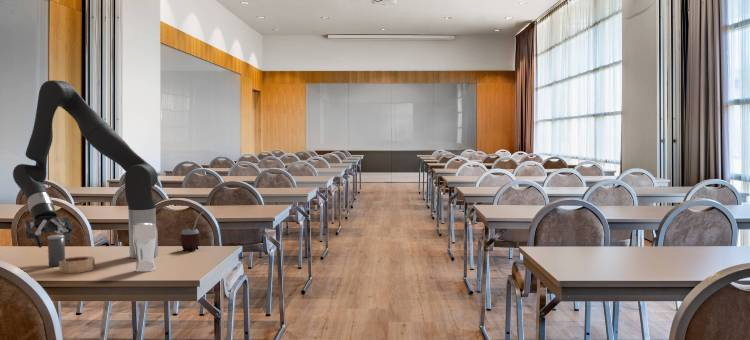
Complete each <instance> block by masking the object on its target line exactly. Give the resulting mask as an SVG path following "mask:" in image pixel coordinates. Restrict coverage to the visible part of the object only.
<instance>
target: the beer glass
mask: <svg viewBox="0 0 750 340" xmlns="http://www.w3.org/2000/svg"><path fill="white" fill-rule="evenodd" d="M133 243H134V249H135V253H136V258H135V259H136V264H135V268H134V270H135V272H136V273H145V272H148V273H149V272H153V271H155V270H156V269H157V268H156V264H155V263H156V262H155V257H154V252H155V245H156V229H155V223H152V222H145V223H136V224H133Z"/></svg>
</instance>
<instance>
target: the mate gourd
mask: <svg viewBox="0 0 750 340" xmlns="http://www.w3.org/2000/svg"><path fill="white" fill-rule="evenodd" d="M204 212H205V210H204V211H202V212H200V213H199V214H198V215H197V216H196V218H195V222H194V224H193V228H184V229H182V231H181V233H180V243H181V248H182V252H189V251H188V250H190V252H195V251H196V250H195V249H199V248H200V247H199V245H200V241H201V240H200V239H201V234H200V231H199V230H198V229H197V228H196V226H197V222H198V220H199V218H200V216H201V215H202V214H203V213H204Z"/></svg>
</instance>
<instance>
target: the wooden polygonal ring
mask: <svg viewBox="0 0 750 340" xmlns="http://www.w3.org/2000/svg"><path fill="white" fill-rule="evenodd" d="M95 265H96V261H95V257H94V256H89V255H88V256H86V255H83V256H71V257H65V259H61V260H59V267H58V268H59V269H58V270H59V273H61V274H78V273H85V272H90V271H94V270H95V268H96V266H95Z"/></svg>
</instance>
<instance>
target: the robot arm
mask: <svg viewBox="0 0 750 340" xmlns="http://www.w3.org/2000/svg"><path fill="white" fill-rule="evenodd" d="M37 98H38V99H37V104H36V112H35V118H34V123H33V128H32V132H31V135H30V139H29V141H28V144H27V148H26V150H25V157H26V158H28V159H29V160H31V161H33V162H34V161H35V164H33V165H32V164H26V163H20V164H17V165H15V167H14V169H12V170H13V171H12V177H13V181H14V183H15V184H16V185H17V187H18V188H19V189H20V190H21V192H22V193H23V194H24V195H25V198H26V202H27V206H28V211H29V213H30V215H31V218H32V221H30V220H26V221H25V223H24V225H23V227H24V231H25V235H26V238H27V239H29V240H31V239H33V240H34V242H35V245H36V247H38V248H42V247H43V241H42V237H41V234H42V233H44V234H48V233H56V234H57V235H64V240H65V245H69V244H70V242H71V237H70V235H72V233H73V231H74V228H73V225H72V223H71V221H70V218H69V217H67V216H66V217H64V218H62V219H60V218H59V217H58V214H57V211H56V208H55V206H54V203H53V200H52V198H51V196H50V194H49V192H48V188H47V187H46V185H45V184H44V182H45V181H46V179H47V175H48V173H47V164H48V163H47V162H48V161H47V160H48V155H49V153H50V151H51V147H52V143H53V135H54V132H53V121H54V116H55V114H56V111H57V109H58V108H59V107H60V108H61V109H63V110H64V111H66V112H67V113H68V115H70V116H71V117H72V118H73V119H74V121H75V122H76V124H77V126H78V129H79V132H80V133H81V135H82V137H83V138H84V139H85V140H86V141H87V142H88V143H89V144H90V146H92V147H93V149H95V150H96V151H98V153H100V154H101V155H103V156H105V157H106V158H108V159H109V160H111V161H113V163H116V164H117V165H119V166H120V167H121V168H122V169H123V170H124V171H125V175H124V188H125V189H124V193H125V201H126V203H127V207H128V208H127V211H128V237H129V238H128V240H129V241H128V242H129V245H128V246H129V257H130V258H131V259H136V253H135V249H134V243H133V224H136V223H145V222H152V223H155V229H156V245H155V252H154V258H155V257H157V256H158V255H159V245H158V244H159V241H158V240H159V239H158V228H157V216H156V215H157V214H156V213H157V210H156V201H155V200H154V198H153V191H152V188H153V187H155V186H156V185H157V183H158V179H159V178H158V172H157V170H156V169H155V168H154V167H153V166H152V165H151V164H150V163H148V162H147V161H146V160H145V159H144V158H142V157H141V156H140V155H138V153H136V152H135V151H134V150H133V149H132V148H131V147H130V145H128V143H127V142H126V141H125V140H124V139H123V138H122V136H120V135H119V134H118V133H117V132H116V131H115V129H113V127H112V126H110V125H109V123H108V122H106V121H105V119H103V118H102V117H101V116H100V115H99V114H98V113H97V112H96V111H95V110H94V109H93V108H92V107H90V105H89V104H88V103H87V102H86V101H85V100H84V98H83V97H82V96H81V95H80V93H79V92H78V91H77V90H76V88H75V87H74V86H72V84H71V83H69V82H67V81H65V80H64V81H63V80H54V79H51V80H47V81H45V82H43V83H42V84H41V86H40V88H39V92H38V97H37ZM33 227H34V228H35V229H36V231H35V232H33V231H32V228H33Z"/></svg>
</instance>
